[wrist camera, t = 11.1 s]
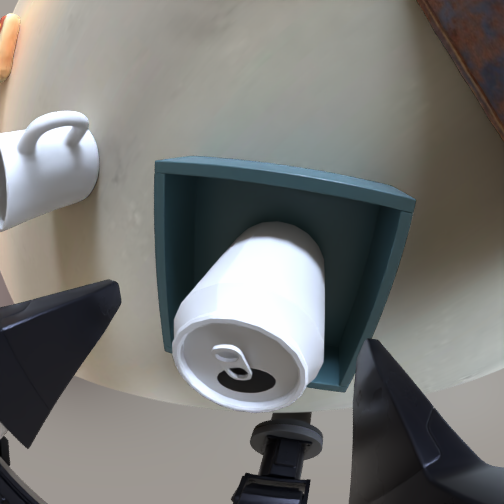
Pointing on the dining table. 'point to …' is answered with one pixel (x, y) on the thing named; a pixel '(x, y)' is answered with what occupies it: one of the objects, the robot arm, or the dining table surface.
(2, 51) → the food
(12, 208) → the mug
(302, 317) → the can
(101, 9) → the dining table surface
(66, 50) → the dining table surface
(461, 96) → the dining table surface
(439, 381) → the dining table surface
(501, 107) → the container
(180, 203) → the box
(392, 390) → the robot arm
